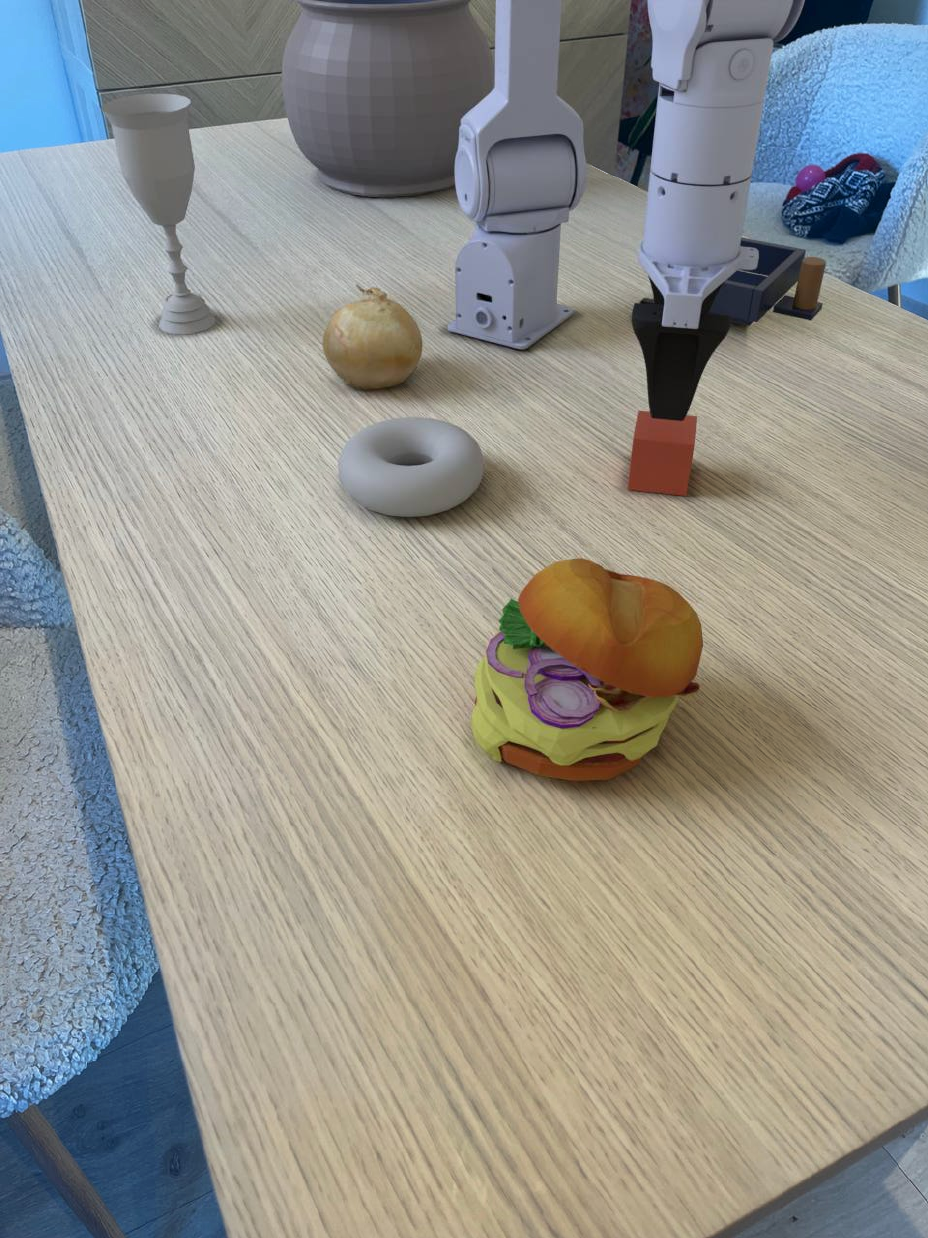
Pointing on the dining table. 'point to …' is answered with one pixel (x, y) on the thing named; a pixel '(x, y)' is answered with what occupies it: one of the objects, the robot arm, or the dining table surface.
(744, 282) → the dark navy tray
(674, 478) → the block
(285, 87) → the grey pot
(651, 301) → the black bar
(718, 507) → the dining table surface
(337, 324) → the onion
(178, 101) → the chalice
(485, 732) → the cheeseburger
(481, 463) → the donut
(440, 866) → the dining table surface
